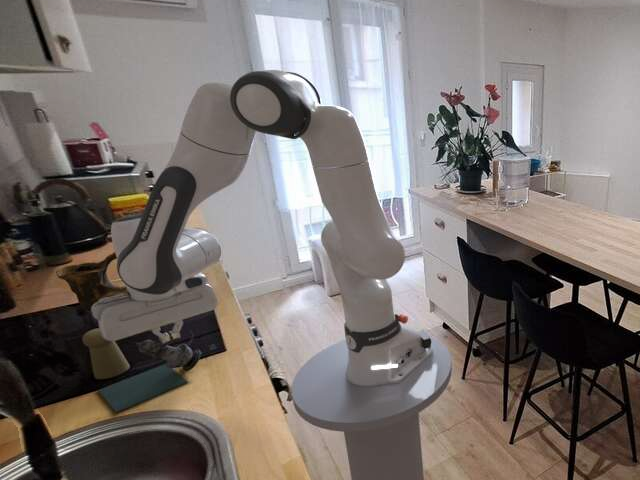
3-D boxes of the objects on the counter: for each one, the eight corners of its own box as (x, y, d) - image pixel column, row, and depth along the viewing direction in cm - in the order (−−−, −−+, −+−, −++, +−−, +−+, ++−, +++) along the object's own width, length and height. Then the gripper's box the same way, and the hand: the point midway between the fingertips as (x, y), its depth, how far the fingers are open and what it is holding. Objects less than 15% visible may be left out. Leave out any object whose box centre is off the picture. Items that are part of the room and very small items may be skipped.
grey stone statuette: (179, 376, 97) (121, 360, 87) (185, 354, 100) (130, 337, 91) (198, 366, 96) (142, 349, 87) (204, 344, 100) (150, 326, 90)
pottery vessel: (76, 336, 109) (47, 268, 102) (79, 320, 117) (53, 255, 110) (194, 309, 125) (176, 248, 118) (191, 296, 132) (174, 238, 126)
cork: (94, 370, 96) (78, 329, 92) (129, 360, 100) (115, 321, 96) (93, 382, 92) (76, 340, 88) (130, 372, 96) (115, 331, 92)
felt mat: (166, 364, 99) (166, 363, 99) (187, 382, 93) (187, 381, 93) (98, 391, 90) (97, 390, 89) (116, 413, 84) (116, 411, 84)
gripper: (93, 306, 79) (114, 366, 84) (214, 275, 96) (226, 326, 101) (83, 297, 83) (104, 355, 87) (202, 268, 99) (214, 319, 104)
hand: (170, 339), depth 94 cm, fingers closed
